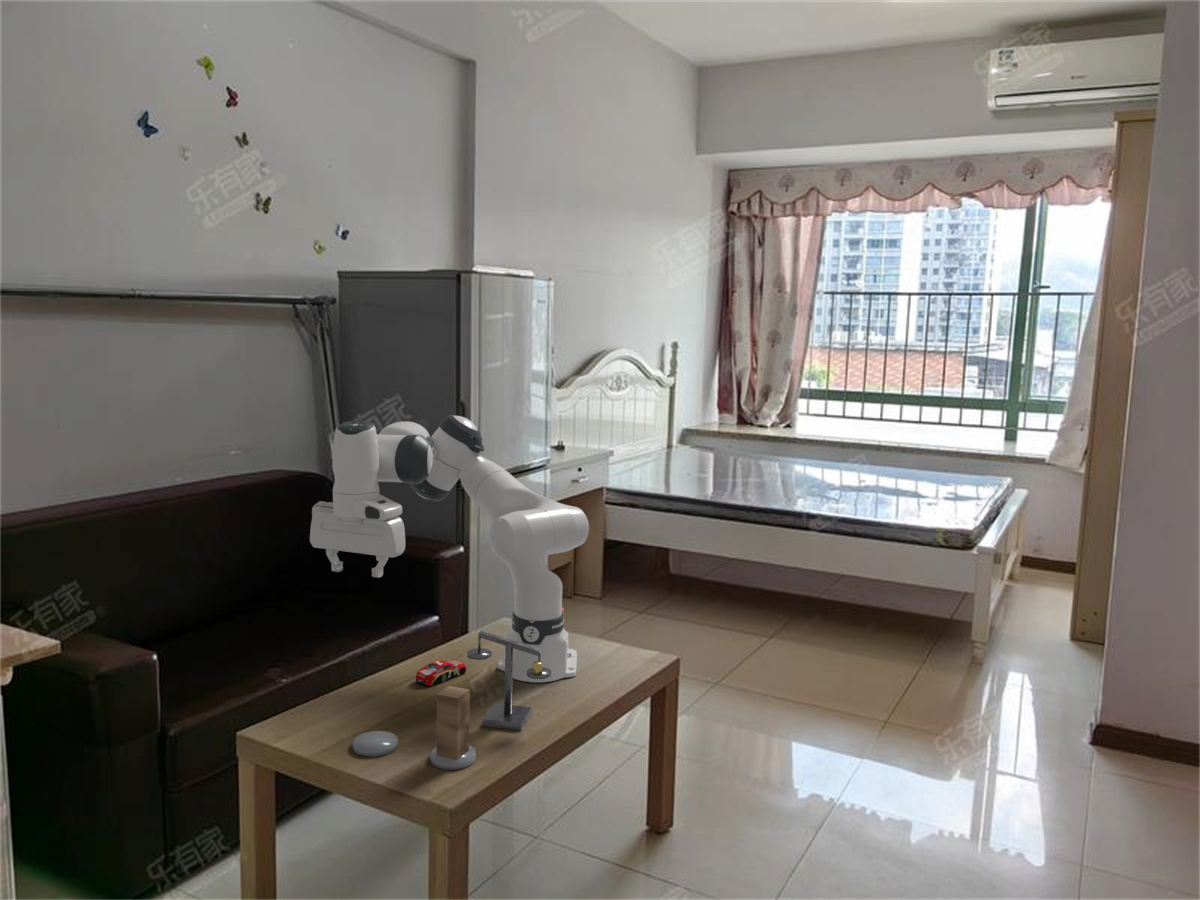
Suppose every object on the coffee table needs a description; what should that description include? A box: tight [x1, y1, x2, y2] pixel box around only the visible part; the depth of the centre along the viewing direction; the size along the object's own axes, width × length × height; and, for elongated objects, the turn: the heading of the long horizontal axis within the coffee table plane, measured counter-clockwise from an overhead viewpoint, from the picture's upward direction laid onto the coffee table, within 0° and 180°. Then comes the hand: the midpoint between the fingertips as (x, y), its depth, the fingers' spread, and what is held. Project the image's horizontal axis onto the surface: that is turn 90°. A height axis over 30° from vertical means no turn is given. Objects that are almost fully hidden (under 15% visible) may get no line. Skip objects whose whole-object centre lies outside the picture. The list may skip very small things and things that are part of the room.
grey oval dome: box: [352, 730, 399, 758], centre depth 180 cm, size 8×8×1 cm
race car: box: [415, 659, 467, 686], centre depth 214 cm, size 13×5×4 cm, turn 142°
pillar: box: [436, 685, 471, 760], centre depth 175 cm, size 4×4×12 cm
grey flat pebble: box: [429, 744, 477, 771], centre depth 176 cm, size 8×8×1 cm
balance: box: [466, 630, 551, 731], centre depth 192 cm, size 8×18×18 cm, turn 79°
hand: (357, 573), depth 185 cm, fingers open, 8 cm apart
